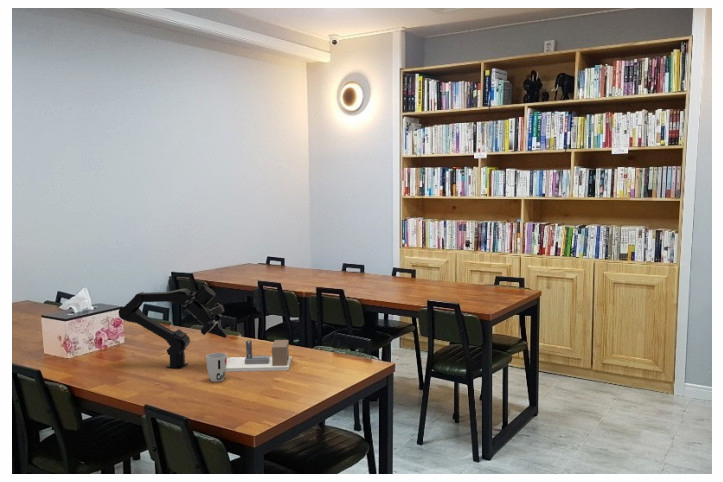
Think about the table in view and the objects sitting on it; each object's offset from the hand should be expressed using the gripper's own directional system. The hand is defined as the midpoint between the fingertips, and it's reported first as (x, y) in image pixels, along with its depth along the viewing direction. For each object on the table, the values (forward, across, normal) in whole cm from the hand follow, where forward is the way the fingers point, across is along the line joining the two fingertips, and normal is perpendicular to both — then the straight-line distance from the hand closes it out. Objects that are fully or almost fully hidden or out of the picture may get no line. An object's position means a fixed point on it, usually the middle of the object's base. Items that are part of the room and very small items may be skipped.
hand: (226, 336), depth 261 cm
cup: (+9, -18, +10) cm, 23 cm away
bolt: (+17, 0, -1) cm, 17 cm away
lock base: (+18, 0, 0) cm, 18 cm away
